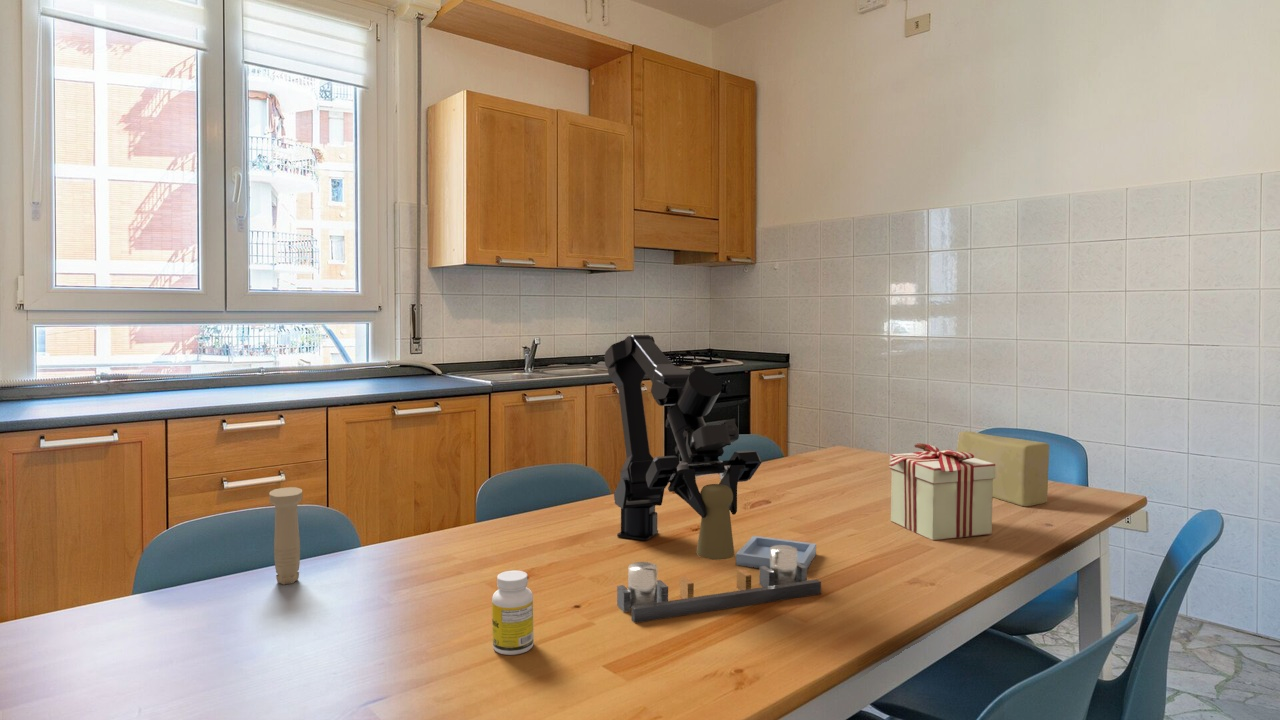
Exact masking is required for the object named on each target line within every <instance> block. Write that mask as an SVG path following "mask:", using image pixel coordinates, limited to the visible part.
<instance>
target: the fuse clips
mask: <svg viewBox="0 0 1280 720" xmlns="http://www.w3.org/2000/svg"><path fill="white" fill-rule="evenodd" d="M627 570H628V571H627V572H628V575H627V578H628V583H627V584H628V585H627V587H626V586H625V585H624V584H622V585H621V584H620V585H617V586H616V587H617V588H616V589H617V590H616V606H617V607H618V608H619V609H620V610H621V611H622V612H623V613H629V611H630V612H631V619H630V620H631V621H632V622H633V623H634V624H637V622H638V623H643V622H649V621H657V620H662V619H669V618H670V619H671V618H675V617H683V616H688V615H689V616H690V615H694V614H702V613H707V612H714V611H719V610H727V609H734V608H739V607H745V606H751V605H758V604H764V603H771V602H772V603H773V602H777V601H778V600H779V601H783V600H790V599H797V598H804V597H811V596H816V595H821V594H822V581H821V580H819V579H817V578H816V579H809V580H808V579H807V578H808V568H807V567H806V566H804V565H802V564H800V563H798V562H797V549H796V548H795V547H792V546H787V545H775V546H772V547H770V569H769V568H767V567H766V566H761V567H760V568H759V582H758V583H759V586H760V587H755V588H752V574H751V573H749V572H747V571H746V570H744V569H743V568H740V569H736V585H735V587H736V589H737V590H734V591H727V592H721V593H714V594H708V595H701V596H694V591H695V590H694V589H695V588H694V586H695V585H694V584H695V583H694V582H693V581H692V580H691V579H689V578H688V577H686V576H681V577H679V597H680V599H674V600H669V586H668V584H666V583H664V581H663V580H661V579H658V566H657V564H655V563H652V562H646V561H638V562H634V563H631V564H629V565H628V569H627ZM682 615H683V616H682ZM656 619H657V620H656Z"/></svg>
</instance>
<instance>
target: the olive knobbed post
mask: <svg viewBox="0 0 1280 720" xmlns="http://www.w3.org/2000/svg"><path fill="white" fill-rule="evenodd" d="M699 492H700V494H701V497H702V500H703V502H704V505H705V509H706V513H707V515H706V517H705V518H702V517H701V518H700V519H701V520H700V527H699V532H698V538H697V545H696V554H697V556H698V557H700V558H703V559H706V560H713V561H714V560H715V561H717V560H718V561H720V560H722V561H724V560H727V559H731V558H733V557H734V556H735V549H734V540H733V538H734V536H733V530H732V520H731V519H732V518H731V511H730V510H729V506H730V505H731V503H732V501H733V493H732V490H731V488H730V487H728V486H726V485H722V484H719V483H711V484H706V485H704V486H702V488H701V489H700V491H699Z"/></svg>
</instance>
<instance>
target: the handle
mask: <svg viewBox="0 0 1280 720" xmlns="http://www.w3.org/2000/svg"><path fill="white" fill-rule="evenodd" d="M301 501H303V489H302V488H299V487H294V486H291V487H280V488H276V489H275V488H274V489H272V490H270V491H269V504H270V505H273V506H274V511H275V512H274V513H275V514H274V537H273V538H274V539H273V556H274V558H273V559H274V568H275V572H276V575H275V578H276V582H277V584H281V585H287V584H294V583H295V582H297V581H298V580H299V578H300V572H299V570H300V565H301V564H300V562H301V543H300V541H301V539H300V531H299V530H300V527H299V517H298V504H299V503H300V502H301Z"/></svg>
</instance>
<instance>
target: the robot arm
mask: <svg viewBox="0 0 1280 720" xmlns="http://www.w3.org/2000/svg"><path fill="white" fill-rule="evenodd" d="M604 365H605V367H606V368H607V373H608V378H609V379H610V380H611V382H612V383H613V384H614V385H615V387H616V388H617V389H618V396H619V404H620V405H619V406H620V414H621V422H622V430H623V438H624V448H625V457H626V458H625V461H624V463H623V465H622V467H621V470H620V473H619V474H620V479H619V482H618V484H617V485H616V487H615V490H614V493H613V497H614V498H613V499H614V504H615V505H616V506H618V507H619V508H620V532H618V533H617V537H619V538H624V539H632V540H639V541H648V540H649V539H651V538H652V537H654V536H655V535H656V534H658V533H659V530H658V512H656V506H662V504H663V500H664V494H665V489H666V488H667V489H668V492H669V493H670V492H673V493H675V495H677V496H678V497H680V498H681V499H682V500H683V501H684V502H686V503H687V504H688V505H689V506H690V507H691V508H692V509H693V510H694V511H695V512H696V513H697V514H698V515H699V516H700V517H701V518H705V517H706V515H707V513H706V509H705V505H704V502H703V500H702V497H701V494H700V492H701V491H700V490H699V487H698V484H697V480H696V476H704V475H705V476H706V475H715V474H716V475H717V474H718V475H719V479H720V482H719V483H718V484H722V485H726V486H728V487H730V488H731V490H732V493H733V501H732V503H731V505H730V506H729V510H730V514H732V515H733V516H734V515H736V513H737V512H738V483H742V482H747V481H751V479H752V478H753V476H754V475H755V473H756V472H757V470H758V468H759V467H760V466H761V465H762V463H763V462H762V461H761V458H760V456H759V453H758V452H757V451H755V450H753V449H752V450H738V451H734V452H733V453H732V455H731V457H730V458H729V460H720V459H719V457H722V456H723V455H724V453H725V451H724V448H725V447H726V446H730V445H732V443H734V442H736V441H737V440H739V438H740V433H739V429H738V427H737V425H736V423H735V421H734V420H731V421H723V423H720V424H711V425H709V424H708V425H706V422H705V420H704V417H705V416H707V415H708V414H709V413H710V412H711V410H712V408H713V406H714V405H715V403H716V402H717V399H718V398H719V395H720V394H721V391H722V390H723V384H722V381H721V379H720V378H718V377H717V375H715V374H714V373H712V372H711V371H708V370H706V369H705V366H704V365H692V366H691V368H690V371H689V370H687V369H686V368H683V367H679V366H677V365H674V364H673V363H672V362H671V361H670V359H668V357H667V356H666V355H665V353H664V352H663V351H662V350H661V348H660V347H659V346H658V345H657V344H656V343H655V338H654V337H653V336H652V335H650V334H631V335H627V336H626V338H624V339H623V340H620V341H618V342H615V343H613V344H611V345H609V347H608V348H607V350H606V351H605V353H604ZM646 375H647V377H648V379H649V380H650V382H651V388H650V393H651V395H652V398H653V399H654V401H655V403H656V404H657V405H658V406H660V407H666V406H667V407H668V406H670V409H669V410H668V412H667V415H666V416H667V417H666V419H665V428H671V431H672V434H673V437H674V440H675V442H676V443H675V444H676V445H675V447H674V451H675V454H676V455H680V458H681V460H679V457H678V456H676V455H665V456H663V455H662V456H655V457H653V456H652V454H651V452H650V445H649V436H648V428H647V422H646V415H645V414H646V413H645V405H644V398H643V390H642V382H643V380H644V378H645V376H646ZM668 484H669V485H668ZM667 486H668V487H667Z"/></svg>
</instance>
